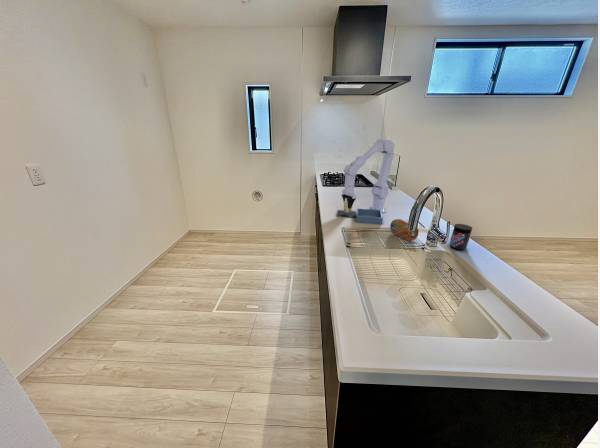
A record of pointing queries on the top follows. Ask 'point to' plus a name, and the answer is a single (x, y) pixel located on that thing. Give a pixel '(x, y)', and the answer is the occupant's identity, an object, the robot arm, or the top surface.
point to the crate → (369, 219)
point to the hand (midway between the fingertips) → (347, 206)
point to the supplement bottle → (346, 206)
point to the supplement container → (460, 237)
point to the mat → (346, 214)
